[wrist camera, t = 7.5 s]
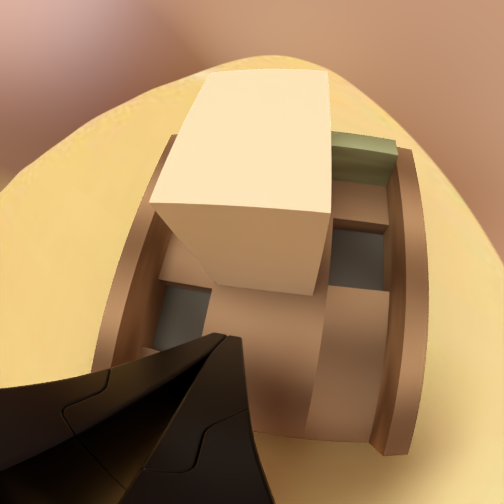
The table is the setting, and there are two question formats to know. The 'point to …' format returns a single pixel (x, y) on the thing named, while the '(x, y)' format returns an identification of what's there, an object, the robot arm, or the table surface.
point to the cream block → (253, 178)
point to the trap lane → (301, 308)
